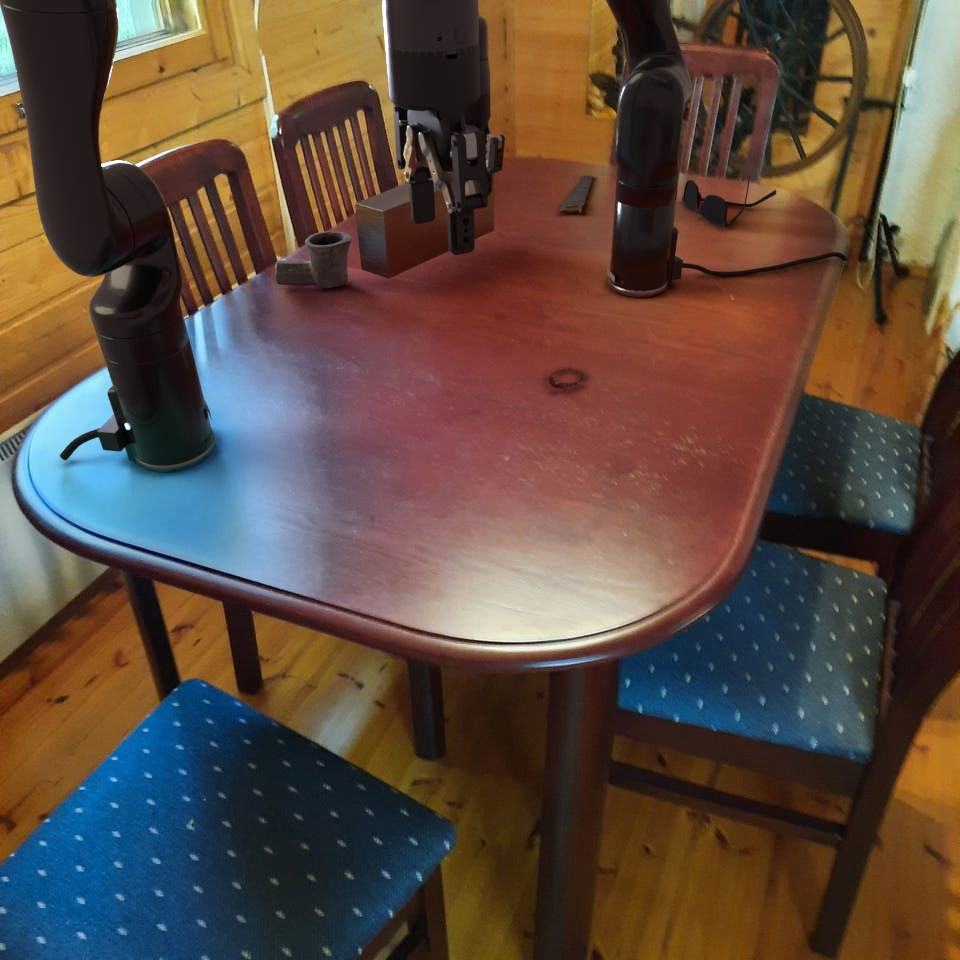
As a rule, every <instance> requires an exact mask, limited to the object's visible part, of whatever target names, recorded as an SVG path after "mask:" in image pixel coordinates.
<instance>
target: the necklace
mask: <svg viewBox="0 0 960 960" xmlns="http://www.w3.org/2000/svg"><path fill="white" fill-rule="evenodd" d="M562 371H564V369H560V370H556V371H555V372H553V373H552V374H551V375H549V377H548V380H549V381H548V382H549V385H550V386H551V387H552V388H555V389H567V388H570V387H573V386H574V387H575V386H576V385H578V384H579V383H580V382H581V381H582V380H583V379H584V375H583V373H582V372H580V371H578V370H575V369H572V368H569V371H573V372H577V373H579V374H580V375H581V378H580V379H579V380H578V381H575V382H565V383H564V382H559V381H557V380H555V379H554V376H553V375H555V374H556V373H557V372H562Z"/></svg>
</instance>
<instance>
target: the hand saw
mask: <svg viewBox="0 0 960 960" xmlns="http://www.w3.org/2000/svg"><path fill="white" fill-rule="evenodd" d="M593 179H594V176H592V175H583V177H582V178H581V180H580V181H579V182H578V183H577V185H576V186H575V187H574V188H573V190H572V191H571V192H570V194H569V195H568V196H567V197H566V198H565V200H564V201H563V202H562V203H561V205H560V206H559V208H560V210H559V212H558V213H559V214H564V213H566V214H568V213H569V214H575V213H579V214H580V215H581V214H582V213H583V209H584V208H585V203H586V200H587V197H588V193H589V191H590V188H591V185H592V182H593Z"/></svg>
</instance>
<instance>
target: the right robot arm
mask: <svg viewBox="0 0 960 960" xmlns="http://www.w3.org/2000/svg"><path fill="white" fill-rule="evenodd" d="M605 2H606V4H607V6H608V8H609V10H610V12H611V14H612V16H613V18H614V19H615V22H616V24H617V27H618V30H619V33H620V37H621V41H622V45H623V50H624V56H625V62H626V68H627V74H628V75H627V78H626V79H625V80H624V82H623V83H622V86H621V88H620V92H619V95H618V101H617V108H616V109H617V111H616V128H615V145H614V146H615V148H614V157H615V162H616V180H615V195H614V208H613V222H612V223H613V224H612V234H611V235H612V238H611V248H610V249H611V251H610V261H609V263H610V264H609V268H608V267H607V268H606V275H607V276H608V281H607V282H608V283H607V286H608V288H609V289H610V290H611V291H613V292H614V293H616V294H619V295H622V296H626V297H631V298H632V297H633V298H647V297H649V298H650V297H654V296H658V295H661V294H662V293H664V292H665V291H666V290H667V289H668V288H671V287H672V286H673V281H678V280H681V279H682V272H683V269H689V270H690V269H691V270H696V271H699V272H701V273H703V274H705V275H708V276H713V277H739V276H740V277H742V276H749V275H754V274H760V273H768V272H773V271H778V270H783V269H787V268H791V267H794V266H798V265H802V264H808V263H812V262H813V263H814V262H818V261H822V260H825V259H828V258H833V257H834V258H839V259H840V260H842V261H844V262H846V261H849V259H848V257H847V256H846V255H845V254H844V253H841V252H839V251H831V252H826V253H823V254H819V255H816V256H811V257H805V258H800V259H796V260H792V261H787V262H784V263H779V264H776V265H771V266H763V267H756V268H751V269H745V270H744V269H743V270H735V271H734V270H733V271H719V270H718V271H717V270H711V269H708V268H706V267H705V266H702V265H699V264H695V263H688V262H684V260H683V258H681V257H679V256H677V255H676V252H677V245H678V238H679V237H678V235H679V229H678V227H676V226H674V225H675V217H676V207H677V200H678V199H677V198H678V188H679V181H680V173H681V159H680V145H681V137H682V136H681V135H682V126H683V118H684V113H685V112H686V110H687V108H688V106H689V104H690V101H691V98H692V89H693V86H692V80H691V79H692V78H691V75H690V73H689V69H688V66H687V63H686V61H685V57H684V54H683V51H682V48H681V45H680V42H679V38H678V35H677V32H676V29H675V26H674V22H673V19H672V18H673V17H672V14H671V11H670V3H669V0H605ZM479 48H480V97H479V99H478V100H477V101H476V102H475V103H474V104H472V105H469V106H468V107H467V108H466V109H465V110H464V118H465V124H466V129H467V132H477V131H482V132H483V133H484V136H485V148H486V171H487V195H488V196H490V193H491V192H492V174H494V175H495V174H496V173H499V172H501V171H502V170H503V164H504V153H505V142H506V137H505V135H504V134H498V135H496V134H495V133H491V130H490V127H489V122H490V119H491V117H492V116H491V115H492V113H491V110H492V109H491V69H490V62H489V61H490V60H489V26H488V22H487V19H486V18H485V17H484V16H482V15H480V14H479Z"/></svg>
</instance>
